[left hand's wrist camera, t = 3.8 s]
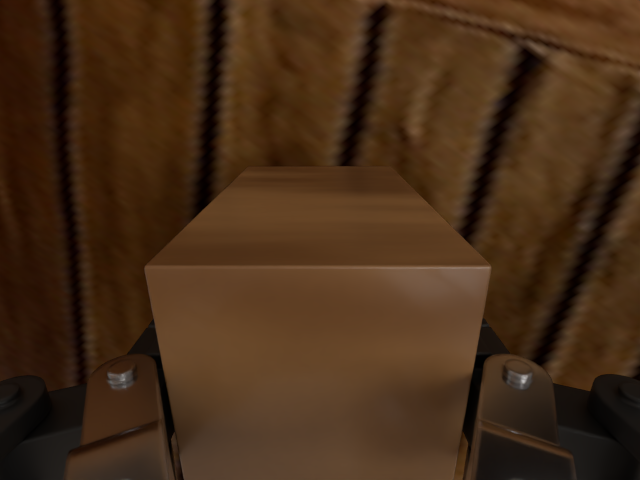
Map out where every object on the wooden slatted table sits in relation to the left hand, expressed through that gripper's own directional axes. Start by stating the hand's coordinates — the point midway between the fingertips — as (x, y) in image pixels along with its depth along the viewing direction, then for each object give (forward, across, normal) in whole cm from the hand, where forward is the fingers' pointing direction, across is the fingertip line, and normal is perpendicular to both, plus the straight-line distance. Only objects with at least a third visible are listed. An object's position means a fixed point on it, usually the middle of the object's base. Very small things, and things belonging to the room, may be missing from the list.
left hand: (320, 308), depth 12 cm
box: (+6, 0, -9) cm, 11 cm away
